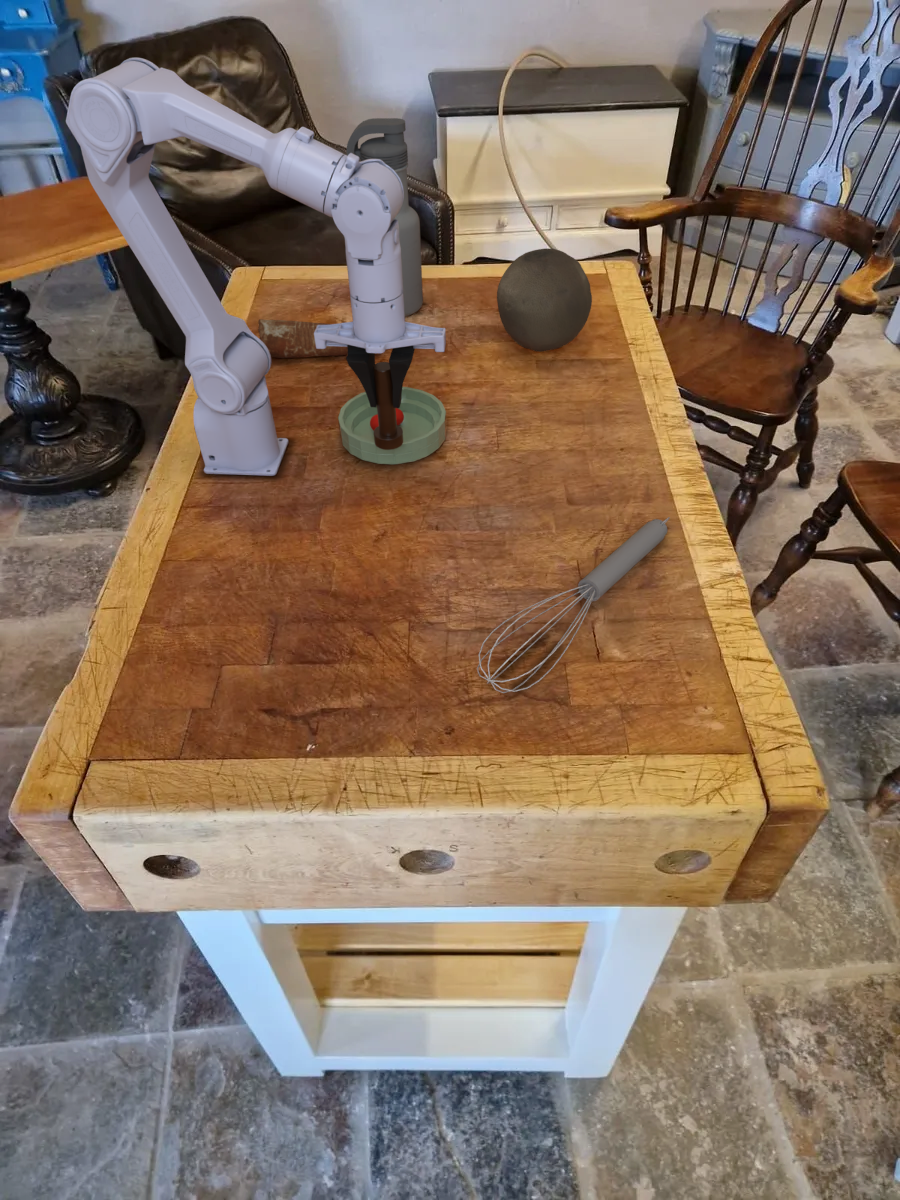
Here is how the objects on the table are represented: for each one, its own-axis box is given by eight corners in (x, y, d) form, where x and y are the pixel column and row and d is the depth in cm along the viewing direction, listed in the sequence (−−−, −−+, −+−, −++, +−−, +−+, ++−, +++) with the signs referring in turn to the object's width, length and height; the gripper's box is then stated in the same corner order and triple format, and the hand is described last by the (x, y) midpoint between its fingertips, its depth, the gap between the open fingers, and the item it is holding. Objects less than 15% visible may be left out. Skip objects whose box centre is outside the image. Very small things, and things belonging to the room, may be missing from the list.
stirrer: (372, 449, 98) (364, 373, 91) (376, 433, 100) (369, 358, 93) (401, 450, 98) (396, 374, 90) (405, 434, 100) (400, 359, 93)
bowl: (333, 465, 104) (329, 443, 102) (350, 407, 114) (348, 385, 112) (441, 469, 103) (440, 446, 101) (449, 409, 113) (449, 387, 111)
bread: (265, 346, 127) (258, 313, 123) (385, 343, 127) (382, 309, 123) (259, 366, 123) (252, 332, 119) (383, 363, 123) (381, 328, 119)
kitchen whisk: (689, 537, 93) (699, 494, 88) (513, 721, 75) (515, 678, 71) (643, 516, 96) (651, 473, 91) (463, 688, 78) (462, 645, 73)
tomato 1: (369, 435, 108) (368, 420, 106) (372, 425, 110) (370, 410, 108) (387, 436, 108) (385, 420, 106) (389, 426, 109) (388, 411, 108)
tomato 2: (385, 429, 109) (384, 413, 107) (388, 419, 111) (386, 404, 109) (403, 429, 109) (402, 414, 107) (405, 420, 111) (404, 404, 109)
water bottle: (358, 319, 133) (339, 131, 113) (368, 293, 140) (352, 111, 120) (419, 321, 132) (410, 131, 113) (426, 295, 139) (419, 112, 119)
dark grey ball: (497, 327, 130) (500, 233, 120) (584, 330, 129) (595, 234, 119) (493, 371, 120) (495, 272, 110) (587, 374, 119) (599, 275, 109)
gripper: (301, 306, 83) (319, 419, 93) (440, 310, 82) (443, 423, 92) (315, 278, 88) (330, 387, 98) (446, 280, 87) (448, 391, 97)
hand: (385, 403), depth 95 cm, fingers closed on stirrer, 2 cm apart
